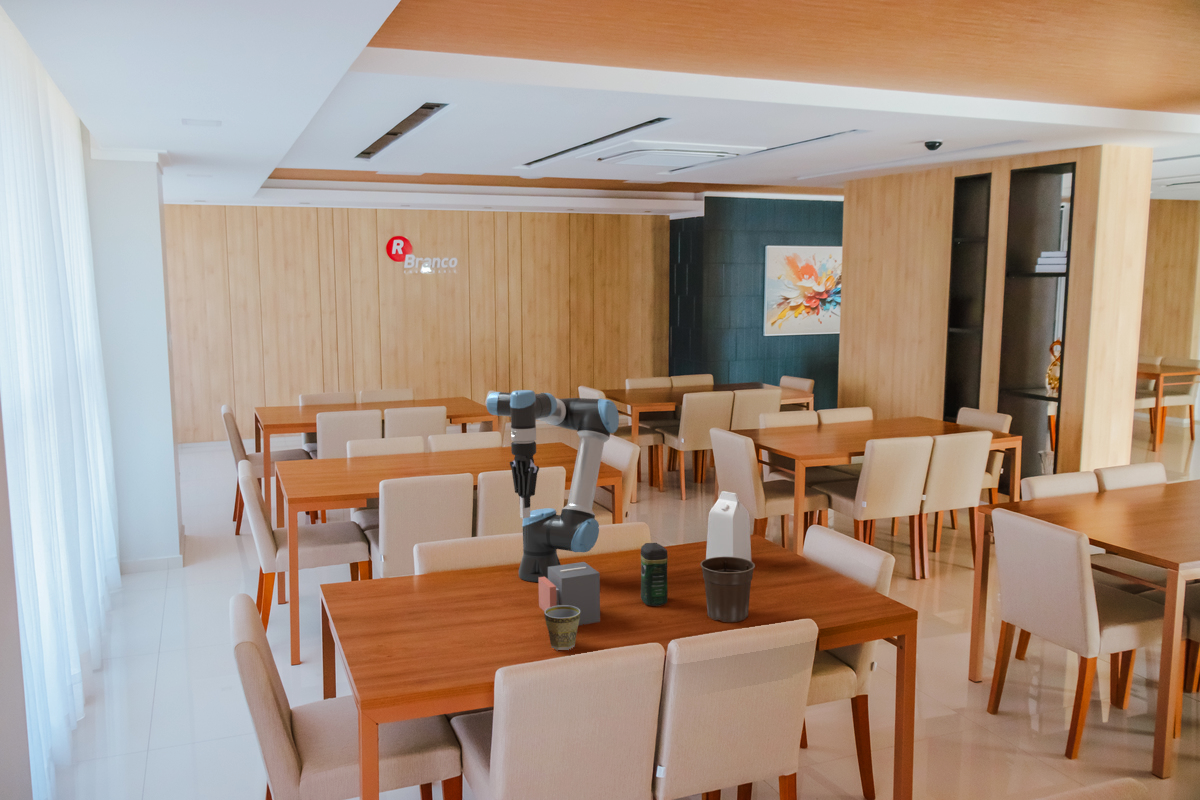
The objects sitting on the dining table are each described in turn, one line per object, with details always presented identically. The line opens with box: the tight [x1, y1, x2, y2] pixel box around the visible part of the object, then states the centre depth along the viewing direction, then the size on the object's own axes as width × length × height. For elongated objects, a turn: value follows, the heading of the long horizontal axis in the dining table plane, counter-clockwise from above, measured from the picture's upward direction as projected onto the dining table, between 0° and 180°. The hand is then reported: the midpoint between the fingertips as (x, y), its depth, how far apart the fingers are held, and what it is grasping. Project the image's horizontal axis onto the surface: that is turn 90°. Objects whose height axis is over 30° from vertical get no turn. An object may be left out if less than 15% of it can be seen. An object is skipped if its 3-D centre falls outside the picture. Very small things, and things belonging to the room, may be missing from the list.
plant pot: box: [700, 557, 756, 623], centre depth 256 cm, size 16×16×16 cm
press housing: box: [548, 561, 601, 626], centre depth 255 cm, size 12×12×15 cm
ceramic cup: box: [543, 605, 580, 651], centre depth 236 cm, size 13×10×10 cm
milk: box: [705, 490, 752, 562], centre depth 307 cm, size 12×12×26 cm
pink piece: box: [538, 577, 559, 612], centre depth 254 cm, size 14×10×9 cm
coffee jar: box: [640, 542, 669, 607], centre depth 268 cm, size 10×8×19 cm
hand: (525, 517), depth 260 cm, fingers closed
